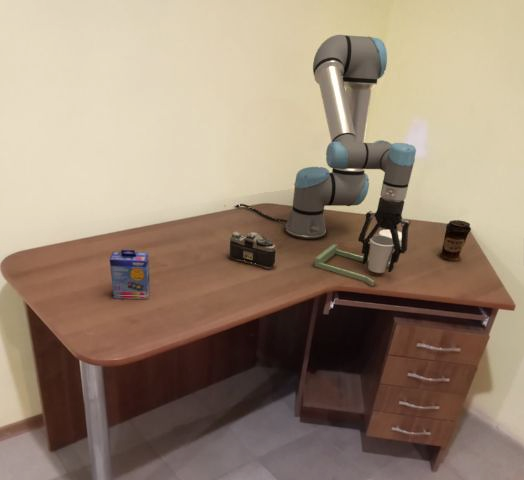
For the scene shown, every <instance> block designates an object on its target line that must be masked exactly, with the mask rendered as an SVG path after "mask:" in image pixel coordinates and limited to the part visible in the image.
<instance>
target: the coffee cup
mask: <svg viewBox="0 0 524 480" xmlns="http://www.w3.org/2000/svg"><path fill="white" fill-rule="evenodd" d="M445 228H446V229H445V233H444V238H443V243H442V248H441V254H440V258H442V259H445V260H448V261H459V259H460V255H461V252H462V250H463V248H464V246H465V244H466V241H467V238H468V235H469V233H470V232H471V231H472V228H471V224H470V223H469V222H467V221H465V220H461V219H460V220H459V219H453V220H450V221H449V222H448V223H447V224H446V225H445Z"/></svg>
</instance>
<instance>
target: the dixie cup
mask: <svg viewBox="0 0 524 480" xmlns="http://www.w3.org/2000/svg"><path fill="white" fill-rule="evenodd" d="M369 243H370V250H369V255H368V258H369V264H368V265H367V266H368V270H369V271H371V272H373V273H376V274H382V273H385V272H386V271H387V268H388V267H387V265H388V263H389V262H390V261H391V256H392V253H393V252H394V245H393V240H392V238H390V237H387V236H380V235H379V234H378V235H374V236H373V237H372V238H371V239H370V241H369Z"/></svg>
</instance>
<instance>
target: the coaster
mask: <svg viewBox="0 0 524 480" xmlns="http://www.w3.org/2000/svg"><path fill="white" fill-rule="evenodd" d="M397 232H398V237H399V242H400V247H401V240H402V231H399V230H397ZM378 235H380V236H387V237H390V238H392V235H391V233H390V230H388V229H382V230H380V231H379V232H378Z"/></svg>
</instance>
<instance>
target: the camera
mask: <svg viewBox="0 0 524 480" xmlns="http://www.w3.org/2000/svg"><path fill="white" fill-rule="evenodd" d="M229 240H230V241H229V258H230V259H231V260H235V261H238V262H242V263H245V264H248V265H249V264H250V265H255V266H256V267H257V266H259V267H261V268H264V269H268V270H269V269H273V268H274V265H275V264H276V263H275V262H276V253H277V251H276V245H275V244H274V243H272V241H271V240H269V239H267V237H266V236H263V235H262V234H259V233H257V232H254V231H251V232H249V233H247V235H246V236H243V235H241V233H240V232H238V231H234V232H233V233H232V235H231V236H230V238H229ZM244 260H245V261H244ZM251 262H252V263H251ZM255 263H256V264H255Z"/></svg>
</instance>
